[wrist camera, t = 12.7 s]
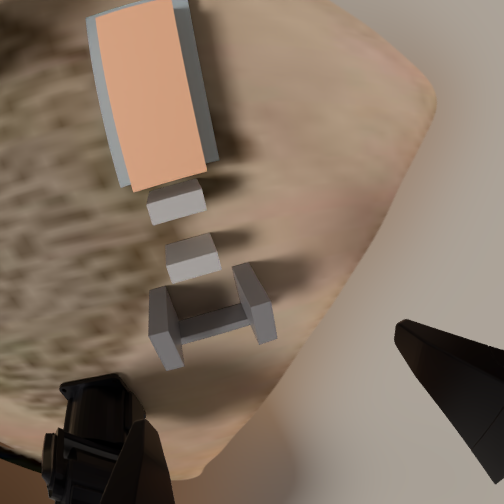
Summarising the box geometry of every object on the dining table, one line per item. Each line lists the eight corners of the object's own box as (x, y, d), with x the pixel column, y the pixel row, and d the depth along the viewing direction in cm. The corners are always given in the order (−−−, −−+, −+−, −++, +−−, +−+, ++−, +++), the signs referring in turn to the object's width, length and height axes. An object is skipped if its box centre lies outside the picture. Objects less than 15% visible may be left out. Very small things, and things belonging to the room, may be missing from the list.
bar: (136, 184, 17) (133, 192, 15) (102, 27, 12) (95, 17, 10) (202, 165, 17) (207, 171, 15) (170, 9, 13) (170, -3, 11)
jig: (166, 330, 22) (170, 378, 18) (117, 201, 17) (102, 229, 13) (257, 304, 23) (279, 347, 19) (229, 170, 19) (250, 187, 14)
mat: (122, 184, 17) (120, 187, 16) (88, 21, 12) (85, 18, 11) (217, 158, 18) (219, 160, 17) (185, -4, 13) (186, -9, 12)
